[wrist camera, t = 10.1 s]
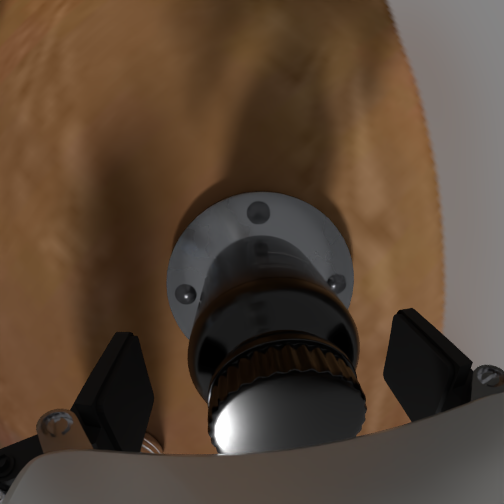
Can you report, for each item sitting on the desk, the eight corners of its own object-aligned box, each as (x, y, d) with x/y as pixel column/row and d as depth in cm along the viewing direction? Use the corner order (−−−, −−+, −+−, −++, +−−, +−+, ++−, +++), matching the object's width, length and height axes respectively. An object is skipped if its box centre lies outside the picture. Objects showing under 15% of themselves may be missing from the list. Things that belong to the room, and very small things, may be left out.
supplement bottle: (182, 286, 19) (123, 421, 8) (262, 209, 18) (307, 268, 7) (257, 354, 21) (276, 505, 9) (335, 287, 20) (430, 408, 8)
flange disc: (161, 198, 19) (156, 199, 18) (348, 188, 19) (355, 189, 18) (183, 363, 22) (180, 372, 21) (342, 351, 22) (347, 359, 21)
